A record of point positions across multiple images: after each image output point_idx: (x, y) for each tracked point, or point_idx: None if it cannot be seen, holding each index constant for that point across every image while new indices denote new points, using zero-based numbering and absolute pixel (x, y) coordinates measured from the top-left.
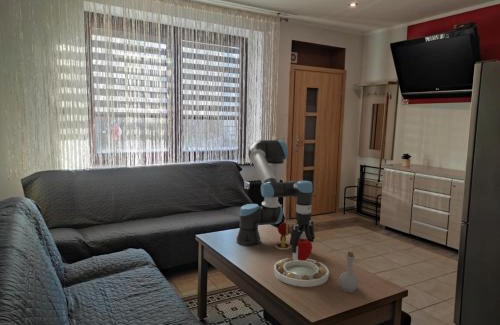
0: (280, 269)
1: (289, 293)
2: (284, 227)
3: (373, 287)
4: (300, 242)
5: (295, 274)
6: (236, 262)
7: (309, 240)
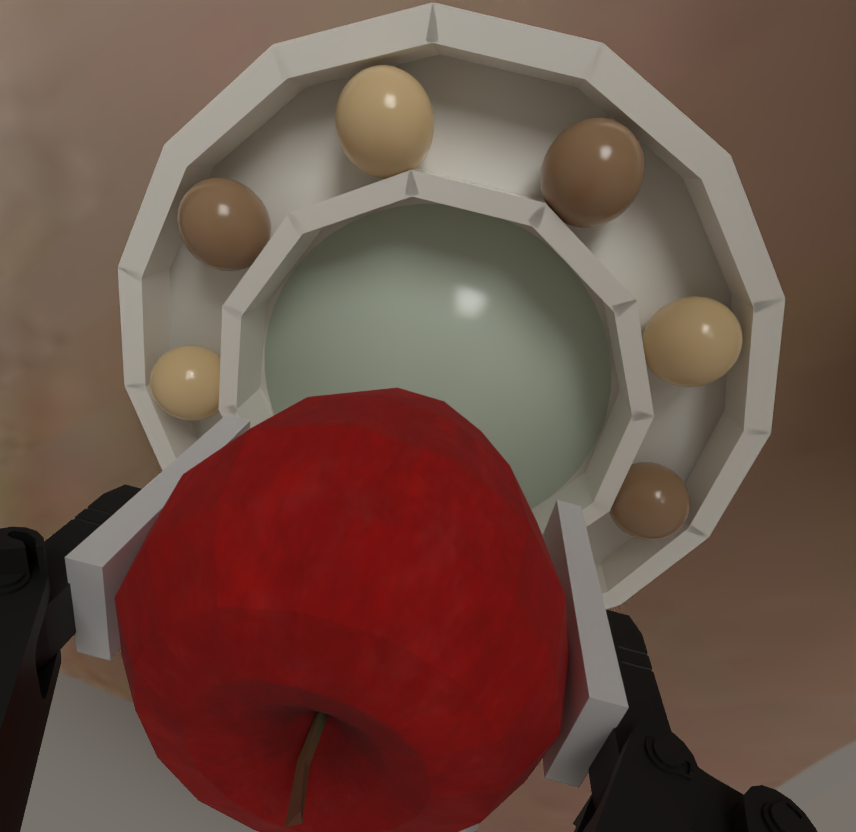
0: (183, 241)
1: (68, 443)
2: None
3: (544, 809)
4: (168, 741)
5: None
6: None
7: (599, 779)
